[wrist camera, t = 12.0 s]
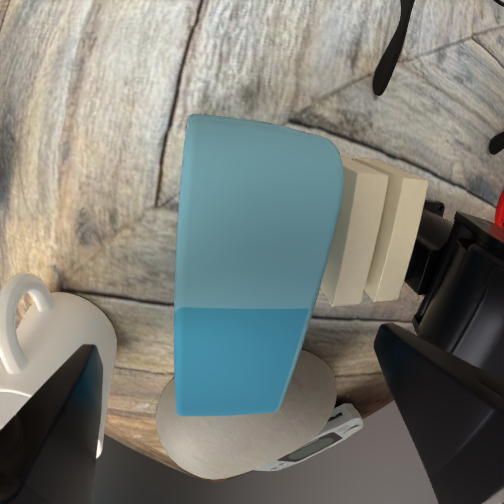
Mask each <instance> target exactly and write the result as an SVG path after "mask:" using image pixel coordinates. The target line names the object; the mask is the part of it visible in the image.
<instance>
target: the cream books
mask: <svg viewBox="0 0 504 504" xmlns="http://www.w3.org/2000/svg"><path fill="white" fill-rule="evenodd" d="M340 156H341V155H340ZM341 160H342V164H343V170H344V191H343V198H342V203H341V208H340V212H339V216H338V220H337V224H336V228H335V232H334V236H333V240H332V244H331V248H330V252H329V256H328V260H327V263H326V267H325V271H324V274H323V278H322V282H321V285H320V290H321V291H322V293H323V294H324V296H325V297H326V299H327V300H328V301H329V303H330V304H331V306H332V307H337V306H346V305H356V304H360V303H361V300H362V296H363V292H364V291H365V292H366V293H367V294H368V296H369V297H370V298H371V299H372V300H373V302H380V301H388V300H396V299H398V297H399V294H400V291H401V288H402V285H403V282H404V279H405V275H406V272H407V269H408V265H409V262H410V258H411V255H412V251H413V247H414V244H415V240H416V236H417V232H418V228H419V224H420V220H421V215H422V211H423V206H424V202H425V197H426V192H427V187H428V180H426V179H424V178H421V177H419V176H417V175H414V174H412V173H409V172H407V171H405V170H402V169H400V168H397V167H395V166H392V165H390V164H387V163H384V162H382V161H379V160H377V159H369V158H361V157H354V158H353V160H351V159H349V158H346V157H344V156H341Z"/></svg>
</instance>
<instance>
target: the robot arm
mask: <svg viewBox="0 0 504 504" xmlns="http://www.w3.org/2000/svg"><path fill="white" fill-rule="evenodd" d="M439 207H440V208H439ZM444 208H445V206H444V204H443V203H441V202H439V201H430V200H425V202H424V206H423V211H422V215H421V220H420V224H419V228H418V232H417V236H416V240H415V244H414V247H413V251H412V255H411V258H410V262H409V265H408V269H407V272H406V275H405V279H404V282H405V283H406V284H408V285H409V286H410V287H411V288H412V289H413V290H414V291H415V292H416V293H417V294H418V295H423V296H424V299H423V301H422V303H421V305H420V307H419V309H418V311H417V313H416V314H415V315H414V317H413V319H412V324H413V326H414V328H415V331H416V333H417V335H418V336H417V335H415V334H413V333H411V332H409V331H407V330H405V329H403V328H402V327H400V326H398V325H396V324H394V323H385V324H381V326H380V327H379V330H378V332H377V335H376V338H375V341H374V350H375V353H376V355H377V358H378V361H379V364H380V366H381V369H382V372H383V375H384V377H385V380H386V383H387V385H388V387H389V390H390V392H391V394H392V396H393V398H394V400H395V402H396V404H397V407H398V409H399V411H400V413H401V415H402V417H403V420H404V422H405V424H406V426H407V429H408V431H409V433H410V435H411V437H412V440H413V442H414V444H415V447H416V449H417V451H418V454H419V456H420V458H421V461H422V463H423V465H424V468H425V470H426V473H427V475H428V477H429V479H430V482H431V485H432V488H433V490H434V493H435V495H436V498H437V500H438V503H439V504H482V503H483V502H484V504H504V229H503V228H502V227H500V226H498V225H496V224H494V223H492V222H490V221H487V220H484V219H481V218H478V217H475V216H471V215H468V214H465V213H461V212H458V211H456V214H455V217H454V219H455V221H454V224H453V223H451V222H449V221H448V220H446V219H444V218H443V213H444ZM102 385H103V364H102V361H101V358H100V355H99V352H98V348H97V346H96V345H94V344H83V345H81V346H80V347H79V348H78V349H77V350H76V351H75V352H74V353H73V354H72V355H71V356H70V357H69V358H68V359H67V360H66V361H65V362H64V363H63V364H62V365H61V366H60V367H59V368H58V369H57V370H56V371H55V373H54V374H53V375H52V376H51V377H50V378H49V379H48V380H47V381H46V382H45V383H44V384H43V385H42V386H41V387H40V388H39V389H38V390H37V391H36V392H35V393H34V394H33V396H32V397H31V398H30V399H29V400H28V401H27V402H26V403H25V404H24V405H23V406H22V407H21V408H20V410H19V411H18V412H17V413H16V415H14V416H13V417H12V418H11V419H10V420H9V421H8V423H7V424H6V425H5V426H4V427H3V428H2V429H1V430H0V504H93V492H94V477H95V465H96V455H97V446H98V437H99V429H100V422H101V411H102Z"/></svg>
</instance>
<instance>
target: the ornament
mask: <svg viewBox="0 0 504 504" xmlns="http://www.w3.org/2000/svg"><path fill="white" fill-rule="evenodd" d="M501 222H503V225H501ZM495 224H496V225H498V226H500V227H502V228H503V229H504V191H503V193H502V195H501V197H500V200H499V203H498V207H497V211H496V217H495Z"/></svg>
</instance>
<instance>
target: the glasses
mask: <svg viewBox="0 0 504 504" xmlns="http://www.w3.org/2000/svg"><path fill="white" fill-rule="evenodd" d="M414 1H415V0H400V2H401V16H400V21H399V24H398V27H397V29H396V31H395V33H394V35H393V37H392V39H391V41H390V43H389V45H388V47H387V49H386V51H385V52H384V54H383V56H382V58H381V60H380V62H379V64H378V66H377V68H376V71H375V74H374V79H373V90H374V94H375V95H377V96H381V95H382V94H383V92H384V91H385V89H386V87H387V85H388V83H389V81H390V78H391V76H392V73H393V71H394V68H395V66H396V63H397V61H398V58H399V55H400V52H401V50H402V46H403V43H404V39H405V36H406V32H407V27H408V23H409V19H410V15H411V12H412V8H413V4H414ZM494 1H495V2H496V3H498V4H499V5H501V6H503V7H504V3H503V2H501V1H500V0H494ZM502 149H504V131H503V132H502V133H500V134H498V135H496V136H495V137H494V138H493V139H492V140H491V142H490V145H489V151H490V153H491V154H493V155H495V154H497V153H498V152H500V151H501V150H502Z"/></svg>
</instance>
